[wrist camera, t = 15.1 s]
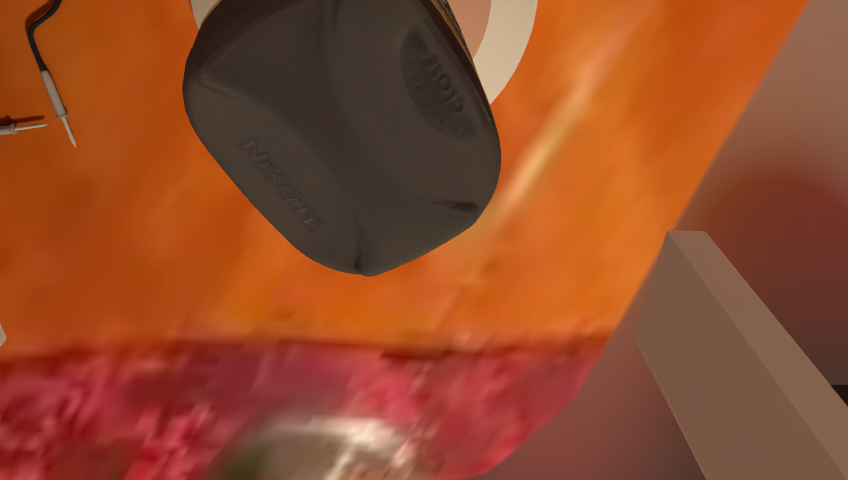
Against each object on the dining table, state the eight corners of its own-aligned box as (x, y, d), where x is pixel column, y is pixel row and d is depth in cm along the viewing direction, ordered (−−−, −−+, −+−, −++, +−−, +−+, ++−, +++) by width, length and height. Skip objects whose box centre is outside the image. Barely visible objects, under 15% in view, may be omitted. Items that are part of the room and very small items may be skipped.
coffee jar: (476, 39, 33) (557, 223, 18) (354, 113, 35) (333, 337, 20) (377, -141, 28) (371, -103, 13) (242, -44, 30) (98, 90, 15)
